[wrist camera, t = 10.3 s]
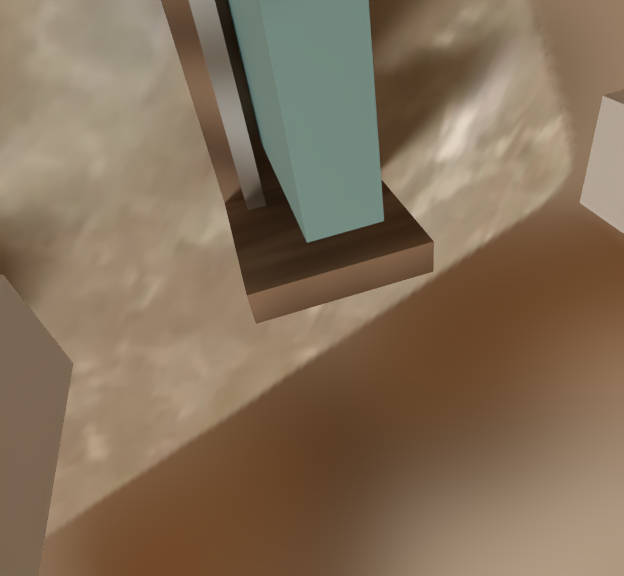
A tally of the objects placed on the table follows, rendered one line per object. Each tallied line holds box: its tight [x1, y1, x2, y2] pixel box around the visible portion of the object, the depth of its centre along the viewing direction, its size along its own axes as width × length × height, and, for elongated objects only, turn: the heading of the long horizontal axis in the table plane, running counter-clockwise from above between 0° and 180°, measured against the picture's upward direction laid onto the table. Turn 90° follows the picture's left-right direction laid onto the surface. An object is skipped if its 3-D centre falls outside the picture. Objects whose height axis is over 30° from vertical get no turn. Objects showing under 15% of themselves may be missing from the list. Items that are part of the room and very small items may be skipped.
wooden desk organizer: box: [161, 0, 434, 323], centre depth 23 cm, size 24×10×11 cm, turn 9°
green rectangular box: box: [227, 0, 384, 243], centre depth 21 cm, size 12×4×12 cm, turn 9°
